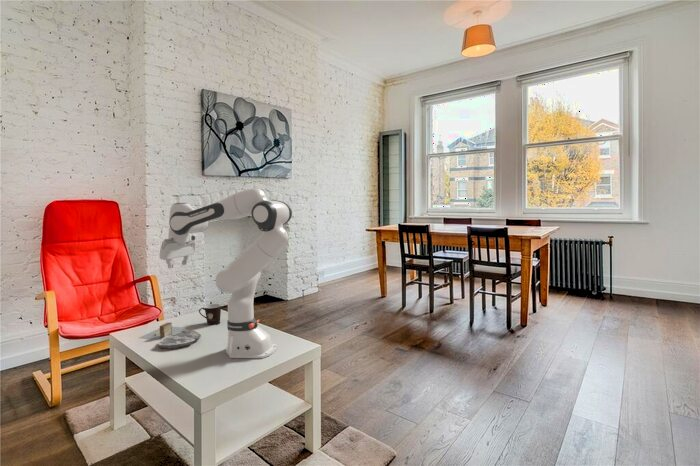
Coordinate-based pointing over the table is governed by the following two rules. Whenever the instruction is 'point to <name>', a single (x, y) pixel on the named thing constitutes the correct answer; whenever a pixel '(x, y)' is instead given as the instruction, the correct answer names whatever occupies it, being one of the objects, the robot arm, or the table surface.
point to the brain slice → (179, 339)
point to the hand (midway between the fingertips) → (177, 266)
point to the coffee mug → (212, 313)
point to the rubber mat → (152, 334)
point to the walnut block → (165, 330)
